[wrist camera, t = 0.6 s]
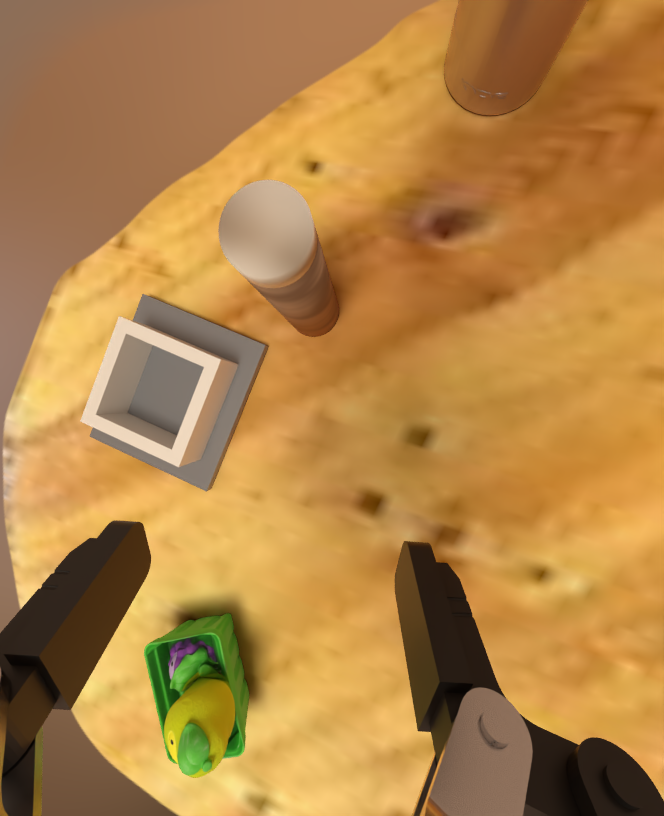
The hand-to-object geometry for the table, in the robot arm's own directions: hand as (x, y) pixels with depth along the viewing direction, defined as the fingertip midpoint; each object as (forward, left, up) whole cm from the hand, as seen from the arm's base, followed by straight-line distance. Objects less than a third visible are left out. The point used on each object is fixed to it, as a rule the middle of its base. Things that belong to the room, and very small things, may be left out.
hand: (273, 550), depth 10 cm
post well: (+1, -17, -23) cm, 29 cm away
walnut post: (-12, -7, -23) cm, 27 cm away
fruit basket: (+25, -2, -23) cm, 34 cm away
